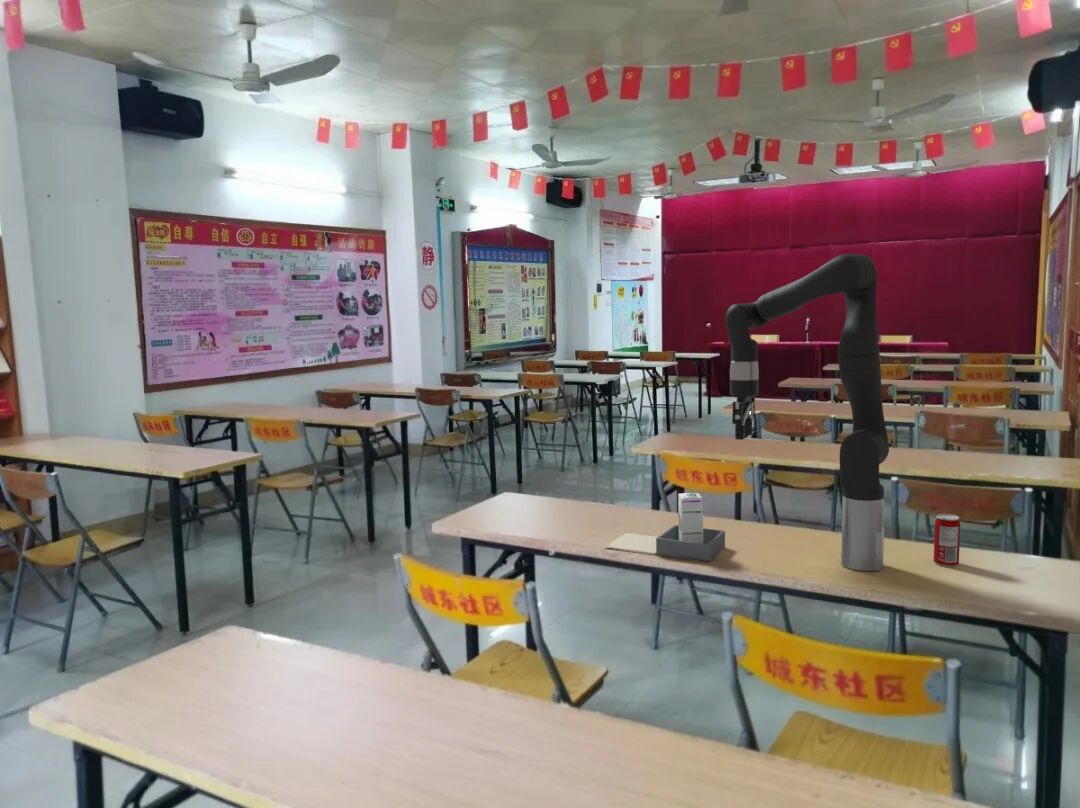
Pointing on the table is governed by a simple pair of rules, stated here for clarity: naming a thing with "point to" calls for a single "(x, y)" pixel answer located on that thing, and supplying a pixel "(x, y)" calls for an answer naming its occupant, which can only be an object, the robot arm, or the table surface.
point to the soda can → (947, 540)
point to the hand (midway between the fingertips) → (743, 437)
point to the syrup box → (690, 517)
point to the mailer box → (673, 544)
